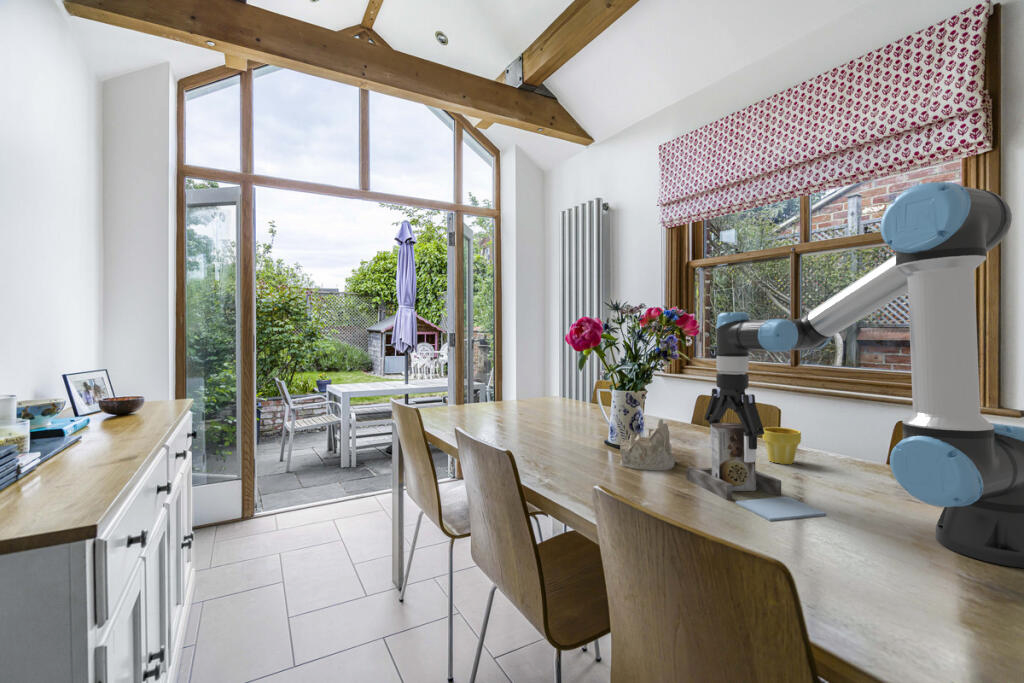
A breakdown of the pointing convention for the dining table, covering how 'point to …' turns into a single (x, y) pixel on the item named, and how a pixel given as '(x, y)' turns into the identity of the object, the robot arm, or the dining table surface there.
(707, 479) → the tray
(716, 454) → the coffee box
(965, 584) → the dining table surface
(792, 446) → the plant pot
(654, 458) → the ceramic cottage
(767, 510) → the mat
